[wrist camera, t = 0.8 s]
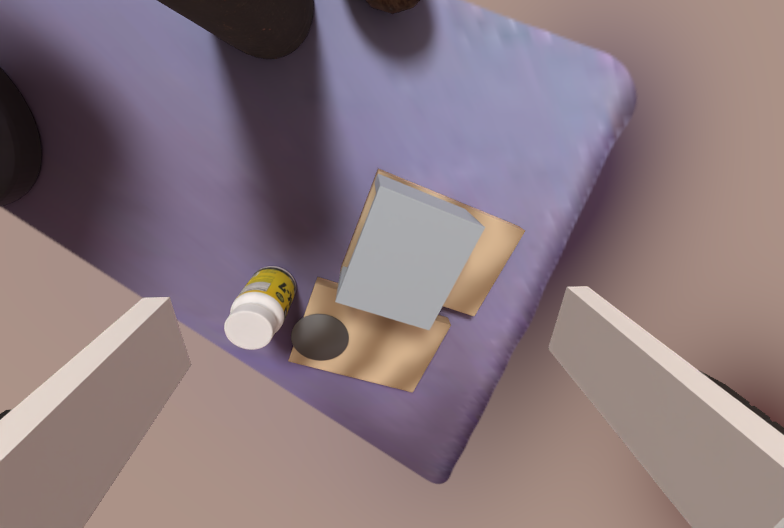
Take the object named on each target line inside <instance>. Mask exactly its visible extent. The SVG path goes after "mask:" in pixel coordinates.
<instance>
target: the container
mask: <svg viewBox="0 0 784 528" xmlns="http://www.w3.org/2000/svg"><path fill="white" fill-rule="evenodd" d="M158 1H159V2H161V3H162V4H164V5H166V6H167V7H169V8H171V9H172V10H174V11H176V12H177V13H179V14H181V15H182V16H184V17H186V18H188V19H189V20H191V21H192V22H194V23H196V24H197V25H199V26H201V27H202V28H204V29H205V30H207V31H209V32H211V33H212V34H214V35H216V36H217V37H219V38H220V39H222V40H223V41H225V42H227V43H229V44H230V45H232V46H234V47H235V48H237V49H239V50H241V51H243V52H245V53H246V54H249V55H251V56H254V57H258V58H263V59H275V58H280V57H283V56H286V55H288V54H290V53H291V52H293V51H294V50H296V49H297V48H298V47H299V46H300V45H301V43H302V42H303V41H304V39H305V38H306V36H307V34H308V31H309V29H310V26H311V22H312V18H313V0H158Z"/></svg>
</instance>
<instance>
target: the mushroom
mask: <svg viewBox="0 0 784 528" xmlns="http://www.w3.org/2000/svg"><path fill="white" fill-rule="evenodd" d="M366 1H367V2H368V4H369V5H370V6H371V7H372V8H375V9H378V10H382V11H385V12H388V13H391V14H394V13H397V12H400V11H404V10H407V9H410V8H413V7H414V6H415V5H416V4H417V3H418V2H419V1H420V0H366Z"/></svg>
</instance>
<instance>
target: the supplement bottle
mask: <svg viewBox="0 0 784 528" xmlns="http://www.w3.org/2000/svg"><path fill="white" fill-rule="evenodd" d="M295 293H296V282H295V280H294V278H293V276H292V275H291V274H290V273H289V272H288V271H286V270H285V269H283V268H280V267H276V266H268V267H264V268H261V269H260V270H258V271H257V272H256V273H255V274H254V275H253V276H252V278H251V279H250V281H249V282H248V283H247V285H246V286H245V287H244V289H243V290H242V291H241V293H240V294H239V295H238V297H237V298H236V299H235V301H234V302H233V304H232V306H231V310H230V315H229V317H228V318H227V320H226V322H225V327H224V330H225V333H226V336H227V337H228V339H229V340H230V341H231V342H232V343H233V344H235V345H237V346H238V347H241V348H244V349H259V348H262V347H264V346H266V345H267V344H268V343H269V342H270V341H271V339H272V337H273V335H274V334H275V333H276V332H277V331H278V330H279V329H280V328H281V326H282V324H283V322H284V320H285V318H286V315H287V313H288V310H289V308H290V305H291V303H292V301H293V298H294V296H295Z"/></svg>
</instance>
